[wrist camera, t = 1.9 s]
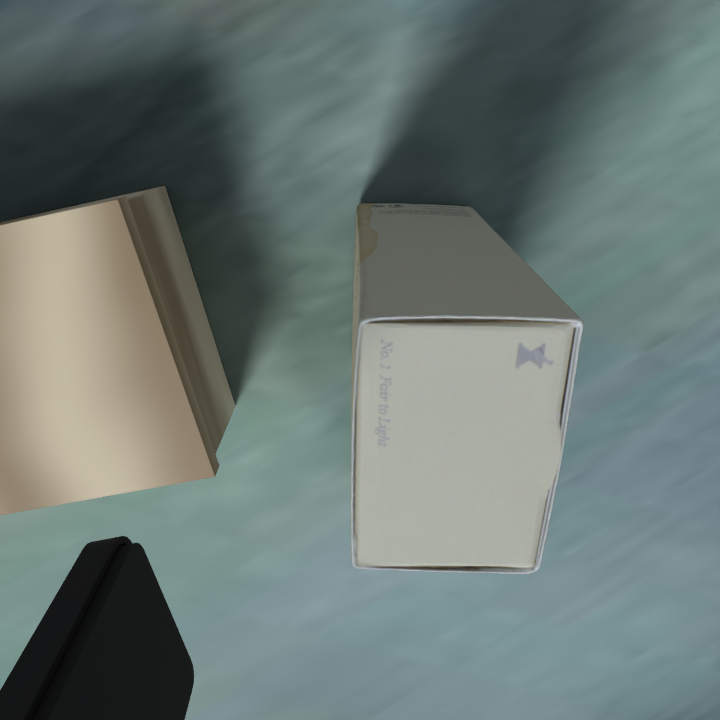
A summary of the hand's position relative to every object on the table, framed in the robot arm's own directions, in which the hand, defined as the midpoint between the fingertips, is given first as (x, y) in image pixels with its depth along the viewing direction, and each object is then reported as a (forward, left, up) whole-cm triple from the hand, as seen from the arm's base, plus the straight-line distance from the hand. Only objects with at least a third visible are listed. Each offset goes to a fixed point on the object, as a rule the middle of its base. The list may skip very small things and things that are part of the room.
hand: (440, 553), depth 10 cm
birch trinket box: (+13, -1, -15) cm, 20 cm away
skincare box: (-1, 0, -15) cm, 15 cm away
